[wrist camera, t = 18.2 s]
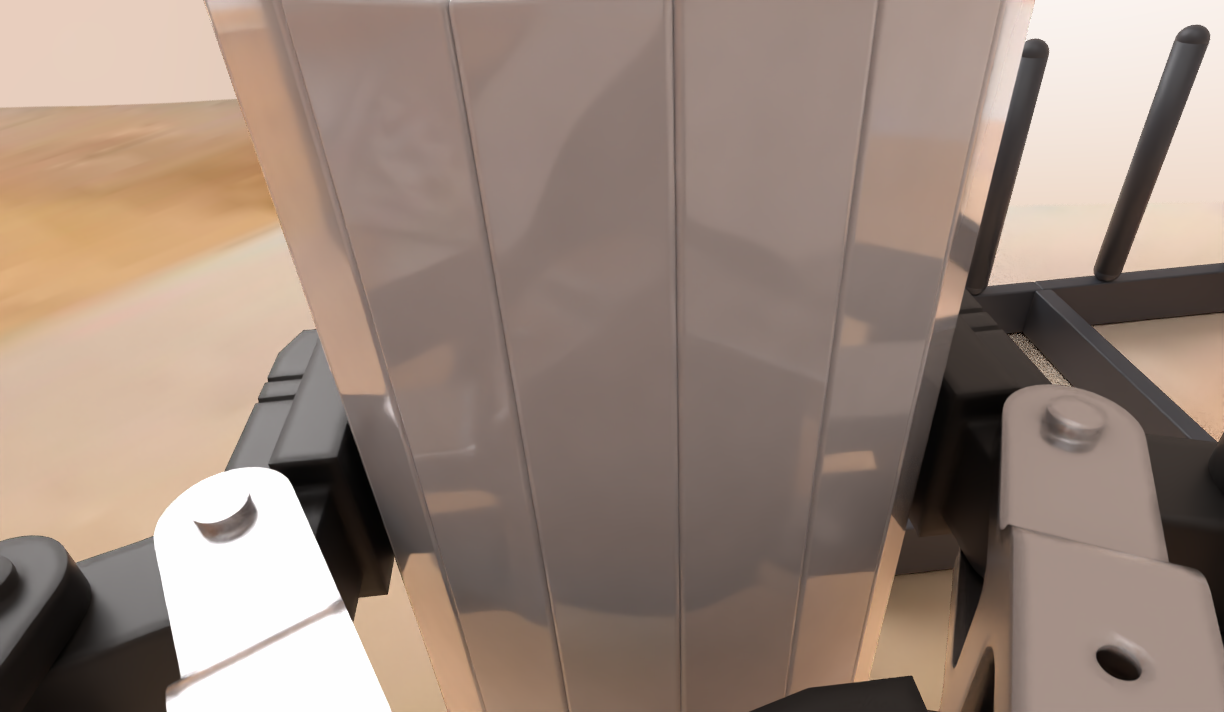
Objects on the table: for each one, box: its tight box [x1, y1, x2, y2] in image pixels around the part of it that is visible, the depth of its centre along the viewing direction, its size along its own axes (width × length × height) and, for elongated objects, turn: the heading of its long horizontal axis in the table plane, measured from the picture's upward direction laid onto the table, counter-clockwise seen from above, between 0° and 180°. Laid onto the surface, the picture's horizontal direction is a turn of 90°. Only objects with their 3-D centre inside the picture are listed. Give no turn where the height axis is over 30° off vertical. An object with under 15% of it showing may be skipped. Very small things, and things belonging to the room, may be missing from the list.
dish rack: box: [895, 25, 1224, 575], centre depth 18 cm, size 17×9×9 cm, turn 95°
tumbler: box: [203, 0, 1035, 712], centre depth 10 cm, size 6×6×13 cm
